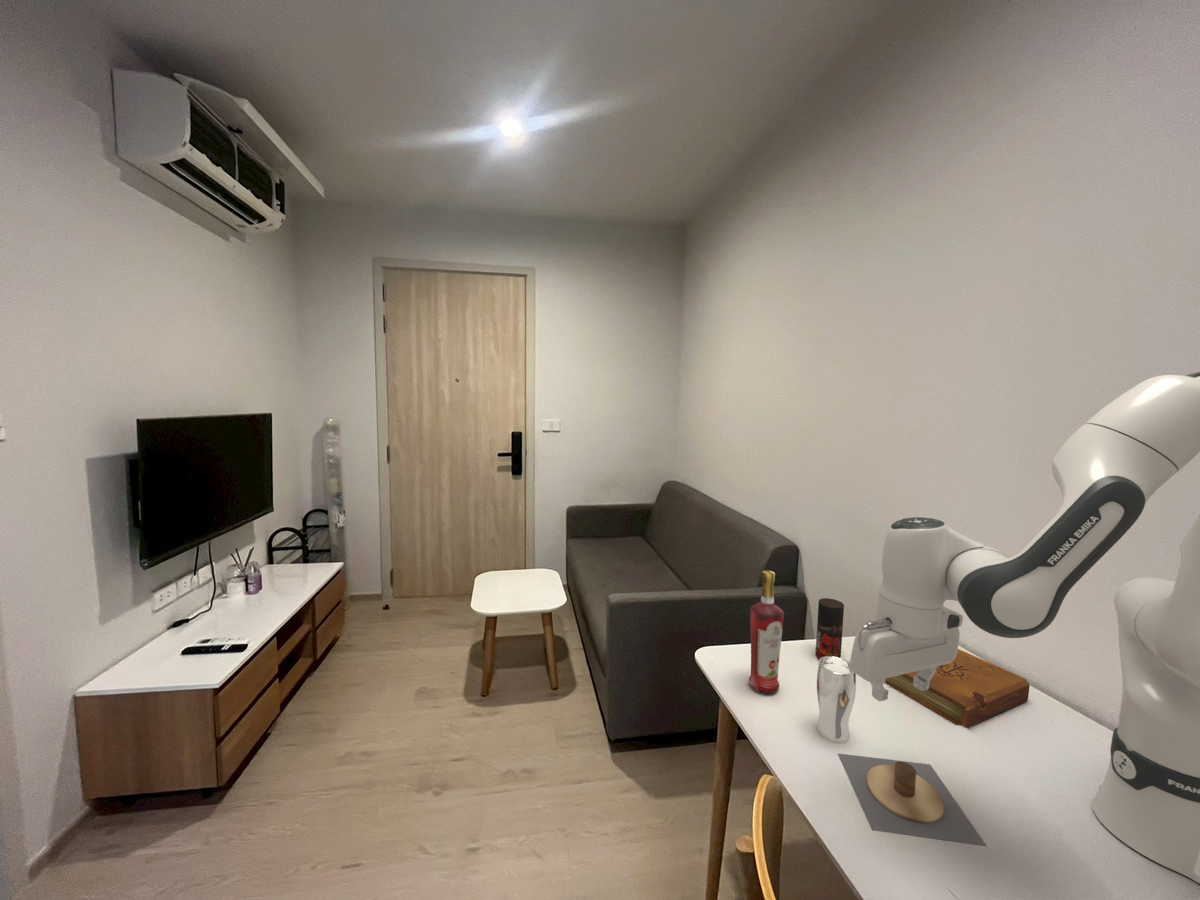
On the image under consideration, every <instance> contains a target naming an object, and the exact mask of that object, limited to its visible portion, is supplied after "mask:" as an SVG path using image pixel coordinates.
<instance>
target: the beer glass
mask: <svg viewBox="0 0 1200 900" xmlns="http://www.w3.org/2000/svg"><path fill="white" fill-rule="evenodd" d="M817 668H818V669H817V675H816V694H817V701H818V709H819V711H818V712H819V713H818V714H819V716H818V720H817V723H816V731H817V733H818V735H819V736H821V737H822V738H823V739H825V740H827V741H830V742H832V743H836V744H845V743H848V742H849V741H850V739H851V735H850V730H849V729H850V728H849V722H850V717H851V713H852V709H853V706H854V703H855V698H856V690H857V687H856V686H857V677H856V676H857V674H856V673H854V672H853V670H852V669H851V667H850V660H849V661H848V660H847V659H844V658H842V657H841V658H839V657H834V656H825V657H822V658H820V660H819V659H818V667H817Z"/></svg>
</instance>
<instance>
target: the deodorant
mask: <svg viewBox="0 0 1200 900" xmlns="http://www.w3.org/2000/svg"><path fill="white" fill-rule="evenodd" d="M817 604H818V608H817V621H816V622H817V625H816V626H817V627H816V643H815V657H816V659H817V660H818V661H819V660H820V658H822V657H825V656H834V657H839V658H842V645H843V644H842V643H843V630H844V629H843V628H844V627H843V626H844V615H845V614H844V611H845V604H844V603H843V602H842V601H840V600H838V599H834V598H829V597H828V598H826V597H825V598H820V599H818V603H817Z"/></svg>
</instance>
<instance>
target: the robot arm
mask: <svg viewBox="0 0 1200 900" xmlns="http://www.w3.org/2000/svg"><path fill="white" fill-rule="evenodd" d="M1199 453H1200V371H1199V372H1194V373H1193V372H1192V373H1189V374H1186V375H1181V374H1163V375H1156V376H1153V377H1150V378H1148V379H1147V378H1146V379H1145V380H1143V381H1141V382H1140V383H1138V384H1137V385H1135V386H1132V388H1130V389H1128V390H1126V391H1125V392H1123V393H1122V394H1120V395H1119V396H1117V397H1116V398H1115V399H1113V400H1112V401H1111V402H1108V404H1106V405H1105V406H1104V407H1102V408H1101V409H1100V410H1099V411H1098V412H1096V413H1095V414H1094V415H1093V416H1092V417H1090V418H1089V419H1087V421H1086V422H1084V423H1083V424H1081V426H1080V427H1078V429H1077V430H1075V432H1073V434H1071V435H1070V436H1069V437H1068V438H1067V439H1066V440H1065V441H1064V442H1063V444H1062V445H1061V446H1060V448H1059V449H1058V451H1056V453H1055V454H1054V456H1053V458H1052V461H1051V468H1052V469H1051V471H1052V475H1053V477H1054V480H1055V482H1056V483H1057V486H1058V487H1059V488H1060V491H1061V499H1062V501H1061V504H1060V506H1059V509H1058V511H1057V512H1056V514H1055V515H1054V517H1052V519H1051V520H1050V521H1049V522H1048V523H1047V524H1046V525H1045V526H1044V527H1043V528H1042V529H1041V530H1040V531H1039V532H1038V533H1037V534H1036V535H1035V536H1034V537H1033V538H1032V539H1031V540H1030V541H1029V542H1028V543H1027V544H1026V546H1024V547H1023V548H1022V549H1021V550H1020V551H1019V552H1018V553H1017V554H1014V555H1013V556H1010V557H1009V556H1008V555H1006V554H1004V552H1001V551H1000V550H998V549H996V548H995V547H993V546H990V545H989V544H985V543H982V542H980V541H977V540H974V539H971V538H969V537H967V536H964V535H963V534H962V533H959V532H958V531H956V530H954V529H953V528H952V527H950V526H949V525H947V523H945V522H944V521H942V520H939V519H936V518H931V517H930V518H929V517H922V516H921V517H918V516H916V517H907V518H906V517H905V518H901V519H898V520H896V521H895V522H893V523H892V524H891V525H890V527H889V528H888V530H887V533H886V536H885V540H884V544H883V545H884V546H883V550H882V556H881V557H882V558H881V571H882V581H881V584H880V586H879V590H878V599H877V611H876V619H877V620H870V621H869V620H868V621H866V622H865V623H864V625H863V626H862V627H861V628H860V629H858V631H857V633H856V634H855V638H854V640H853V643H852V644H853V645H852V651H851V654H850V655H851V656H850V660H849V662H850V667H851V669H852V670H853V672H854V673H856V676H859V677H860V678H862V679H863V680H865V681H866V682H869V683H870V685H871V687H872V688H871V696H872V698H874V699H875V700H877V701H878V702H883V701H884V702H885V701H887V700H888V699H889V696H888V695H889V690H888V689H886V688H885V687H884V685H883V684H885V679H886V678H889V677H894V676H898V675H902V674H906V673H911V672H915V671H918V674H917V676H914V678H913V680H914V682H913V685H914V687H915V688H917V689H919V690H920V691H923V690H927V689H929V683H930V680H931V679H932V677H933V675H934V674H935V672H936V668H937V666H941V665H945V664H949V663H952V662H953V660H954V659H955V657H956V655H957V651H958V649H959V643H960V636H961V635H960V629H959V628H960V627H962V624H963V620H964V617H963V614H960V612H957V611H954V610H952V609H950V608H948V607H946V606H944V603H945V602H946V601H949V600H951V601H957V603H959V605H960V606H961V608H962V609H963V611H964V612H965V614H966V616H967V617H968V619H969V620H970V622H972V623H973V625H975V626H976V627H977V628H979V629H980V630H982V631H984V632H986V633H987V634H991V635H993V636H997V637H1001V638H1004V639H1006V638H1007V639H1021V638H1022V639H1023V638H1027V637H1031V636H1034V635H1037V634H1040V633H1041V632H1043V631H1044V630H1046V629H1047V628H1048V627H1049V626H1051V624H1052V623H1053V621H1054V620H1055V619H1056V617H1057V615H1058V613H1059V610H1060V608H1061V606H1062V604H1063V601H1064V599H1065V598H1066V596H1067V594H1068V593H1069V592H1070V590H1071V589H1072V588H1073V587H1074V586H1075V585H1076V583H1078V582H1079V581H1080V580H1081V579H1082V577H1084V575H1086V574H1087V573H1088V572H1089V570H1091V569H1092V568H1093V567H1094V566H1095V565H1096V563H1098V562H1099V561H1100V560H1101V559H1102V558H1103V557H1104V555H1106V554H1107V553H1108V552H1109V551H1110V550H1111V548H1113V547H1114V546H1115V545H1116V544H1117V542H1119V540H1121V538H1123V537H1124V535H1125V534H1126V533H1127V532H1128V531H1129V530H1130V529H1131V528H1132V527H1133V525H1134V524H1135V523H1136V522H1137V521H1138V519H1139V518H1140V516H1141V515H1142V513H1143V511H1144V508H1145V505H1146V504H1147V502H1148V501H1149V500H1150V499H1151V498H1152V496H1154V494H1156V492H1157V491H1158V490H1159V489H1160V488H1161V487H1162V486H1163V485H1164V484H1165V483H1167V482H1168V481H1169V480H1170V479H1172V477H1174V476H1175V475H1176V474H1177V473H1178V472H1179V471H1181V469H1183V468H1184V467H1185V466H1187V464H1189V463H1190V462H1191V461H1192V460H1193V459H1194V458H1195V457H1196V456H1197V455H1198V454H1199ZM1179 550H1180V564H1179V568H1178V572H1177V576H1176V580H1170V579H1166V578H1161V577H1151V576H1150V577H1148V576H1145V577H1137V578H1134V579H1131V580H1129V581H1126V582H1124V583H1123V584H1122V585H1121V586H1120V587H1119V588H1117V590H1116V592H1115V594H1114V597H1113V602H1114V607H1115V612H1116V617H1117V625H1118V647H1119V656H1120V658H1119V660H1120V666H1121V677H1122V689H1121V690H1122V691H1121V699H1120V707H1119V715H1118V724H1117V727H1116V728H1114V730H1113V732H1112V737H1111V743H1110V748H1109V750H1110V752H1109V753H1110V761H1109V763H1108V768H1107V770H1106V773H1105V777H1104V779H1103V780H1102V781H1101V782H1100V784H1099V787H1098V788H1099V789H1098V792H1097V794H1096V796H1095V797H1094V798H1093V800H1092V803H1091V807H1092V811H1093V813H1094V814H1095V816H1096V818H1097V819H1098V821H1099V822H1100V823H1101V824H1102V825H1103V826H1104V827H1105V828H1106V829H1107V830H1108V831H1109V832H1111V833H1112V834H1113V835H1114V836H1115V837H1116V838H1117V839H1118V840H1120V841H1121V842H1123V843H1124V844H1126V845H1127V846H1128V847H1130V848H1131V849H1132V850H1135V851H1136V852H1137V853H1139V854H1141V855H1143V856H1145V857H1147V858H1148V859H1150V860H1152V861H1153V862H1156V863H1157V864H1160V865H1161V866H1163V867H1166V868H1168V869H1170V870H1172V871H1174V872H1177V873H1178V874H1180V875H1183V876H1184V877H1185V876H1186V877H1188V878H1189V879H1191V880H1193V881H1194V882H1196V883H1198V884H1199V885H1200V514H1199V515H1198V517H1197V518H1196V519H1195V521H1194V523H1192V525H1191V527H1190V528H1189V529H1188V531H1187V533H1186V534H1185V536H1184V537H1183V539H1182V540H1181V542H1180V546H1179Z"/></svg>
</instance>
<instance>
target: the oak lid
mask: <svg viewBox="0 0 1200 900" xmlns="http://www.w3.org/2000/svg"><path fill="white" fill-rule="evenodd" d="M867 787H868V789H869V791H870V793H871V794H872V796H873V797H874V798H875V799H876V800H877V801H878V802H879V803H880V804H881V805H882V806H883V807H885V808H886V809H887V810H889V811H890V812H892V813H894V814H896V815H897V816H899V817H902V818H904V819H907V820H910V821H913V822H918V823H934V822H937V821H938V820H940V819H941V818H942V816H943V813H944V803H943V800H942V798H941V796H940V794H939V793H938V792H937V790H936V789H935V788H934V787H933V786H932V785H931V784H929V783H928V782H927V781H926V780H924V779H923V778H921V777H920V776H918V775H916V770H915V768H914V767H913V766H911V765H910V764H908V763H905V762H896V763H895V766H891V765H879V766H875V767H873V768H871V769H870V770H869V771H868V773H867Z"/></svg>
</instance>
